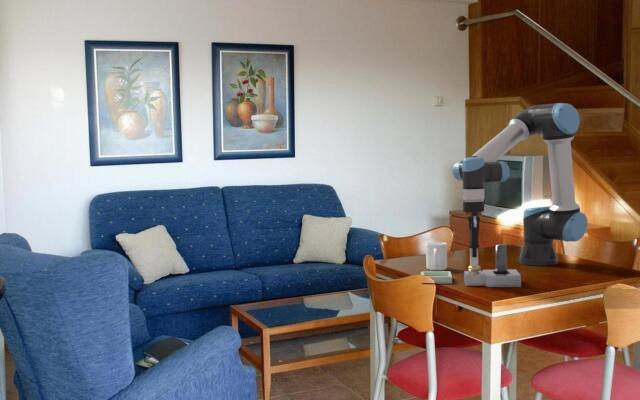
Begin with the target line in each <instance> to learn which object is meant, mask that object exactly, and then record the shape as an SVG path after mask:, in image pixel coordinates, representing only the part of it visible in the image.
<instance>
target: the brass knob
mask: <svg viewBox="0 0 640 400" xmlns="http://www.w3.org/2000/svg"><path fill="white" fill-rule="evenodd" d="M467 267H468V268H467V271H471V274H478V271H482V266H481V265H478V266H470V265H469V266H468V265H467Z"/></svg>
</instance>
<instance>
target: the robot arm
mask: <svg viewBox="0 0 640 400" xmlns="http://www.w3.org/2000/svg"><path fill="white" fill-rule="evenodd" d="M579 115H580V114H579V111H577V108H576V107H574V105H572V104H570V103H564V102H563V103H562V102H557V103H548V104H536V105H532V106H530V107H528V108H526V109H524V110H522V111H521V112H519V113H518V114H517V115H516V116H514V117H513V118H512V119H510V120H509V122H508V123H507V124H508V125H507V126H505V128H504V129H503V130H501V131H500V132H499V133H498V134H497V135H495V136H494V137H493V138H491V139H490V140H489V141H487V143H486V144H484V145H482V147H481V148H480V149H478V150H477V151H476V152H475V153H474V154H473V155H470V156H469V157H464V159H463V160H461V161H459V160H458V161H457V162H454V164H453V167H452V175H453V177H454V179H456V180H457V181H461V182H462V191H461V192H460V193H461V195H462V199H463V202H462V211H463V212H464V213H469V216H467V222H468V228H469V230H468V233H469V241H468V242H469V246H468V249H469V266H479V248H480V245H479V238H480V237H479V231H480V221H481V217H480V216H478V215H479V214H478V213H482V212H485V201H484V200H485V184H490V183H491V184H492V183H501V182H505V181H507V180H508V179H509V177H510V167H509V165H508V163H506V162H505V161H499V159H500V158H501V157H503V156H504V155H505V154H507V152H509V151H510V150H511V149H512V148H513V147H514V146H516V145H517V144H518V143H519V142H521V141H525V140H527V139H528V138H529V137H532V136H536V135H542V141H543V142H545V144H546V145H547V154H548V165H549V166H548V167H549V178H550V187H551V200H552V202H551V203H552V204H551V205H549V206H539V207H529V208H525V210H523V218H522V221H523V223H522V224H523V226H522V227H523V245H522V249H521V250H520V251H521V252H520V255H519V259H518V260H519V264H522V265H524V266H525V265H526V266H536V267H537V266H539V267H542V266H546V267H547V266H553V265H555V266H556V265H558V264H559V263H558V262H559V260H558V254H557V252H556V249H555V246H554V240H557V241H561V242H562V241H563V242H568V243H569V242H579V241H580V240H581V239H583V237H584V235H585V234H586V233H587V230H588V226H589V225H588V223H589V221H588V217H587V216H586V214H585V213H584V212H581V206H580V204H578V203H577V202H576V196H575V193H576V192H575V181H574V171H573V170H574V168H573V157H572V146H571V145H572V144H571V141H572V140H573V139H574V138H575V133H576V132H577V131H578V130H579V127H580V123H581V120H580V116H579Z"/></svg>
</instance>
